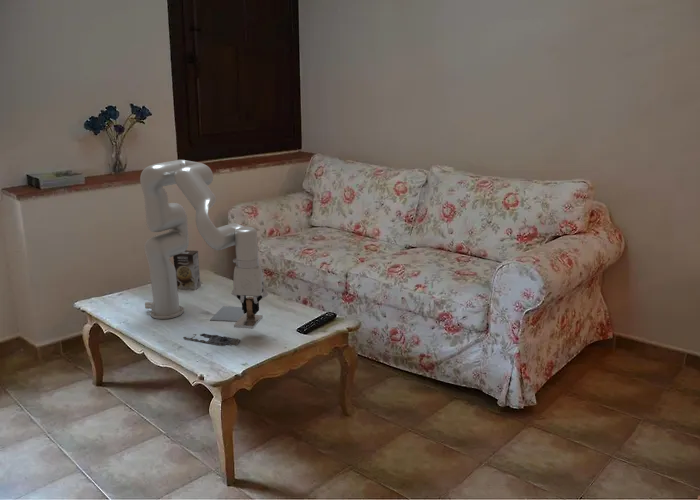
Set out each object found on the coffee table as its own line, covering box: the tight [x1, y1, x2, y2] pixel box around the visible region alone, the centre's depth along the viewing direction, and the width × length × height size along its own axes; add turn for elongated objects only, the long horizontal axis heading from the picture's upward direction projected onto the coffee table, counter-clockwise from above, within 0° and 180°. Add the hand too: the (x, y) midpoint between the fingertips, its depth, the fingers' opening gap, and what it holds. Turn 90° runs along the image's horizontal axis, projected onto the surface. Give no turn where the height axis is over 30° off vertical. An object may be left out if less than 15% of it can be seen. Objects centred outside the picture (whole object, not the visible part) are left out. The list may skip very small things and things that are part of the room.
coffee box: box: [172, 249, 201, 291], centre depth 280 cm, size 9×6×16 cm
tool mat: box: [209, 305, 244, 323], centre depth 250 cm, size 11×14×1 cm
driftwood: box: [182, 333, 241, 347], centre depth 227 cm, size 21×7×2 cm, turn 66°
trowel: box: [233, 296, 264, 330], centre depth 225 cm, size 7×10×8 cm
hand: (250, 311), depth 228 cm, fingers closed on trowel, 3 cm apart
